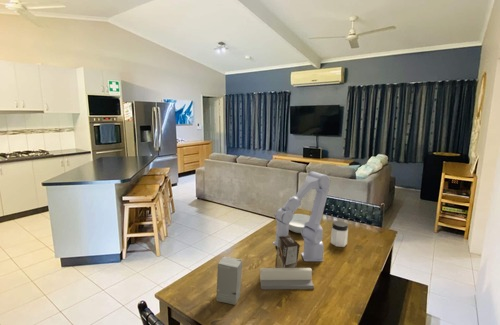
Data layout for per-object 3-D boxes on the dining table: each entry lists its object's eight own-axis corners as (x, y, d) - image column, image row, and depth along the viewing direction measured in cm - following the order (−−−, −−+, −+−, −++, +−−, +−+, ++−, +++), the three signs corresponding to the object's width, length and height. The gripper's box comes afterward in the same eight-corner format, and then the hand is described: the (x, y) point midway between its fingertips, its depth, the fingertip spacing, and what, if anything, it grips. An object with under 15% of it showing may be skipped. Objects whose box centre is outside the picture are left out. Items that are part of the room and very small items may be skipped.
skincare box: (216, 301, 104) (215, 264, 101) (222, 290, 111) (222, 254, 108) (236, 306, 102) (236, 267, 99) (242, 294, 109) (242, 258, 106)
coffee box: (295, 277, 120) (300, 245, 117) (283, 279, 118) (288, 247, 114) (285, 264, 129) (290, 234, 125) (273, 267, 126) (278, 236, 122)
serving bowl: (278, 231, 167) (278, 221, 166) (292, 221, 184) (293, 211, 183) (309, 240, 155) (310, 229, 154) (322, 228, 172) (323, 218, 171)
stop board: (310, 280, 118) (310, 267, 117) (313, 289, 112) (314, 276, 111) (260, 280, 118) (260, 268, 116) (261, 289, 112) (261, 276, 111)
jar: (327, 241, 155) (329, 221, 153) (338, 238, 158) (340, 219, 156) (338, 248, 147) (340, 227, 145) (350, 245, 150) (351, 225, 148)
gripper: (272, 227, 133) (270, 252, 135) (275, 241, 118) (273, 269, 121) (286, 227, 133) (284, 253, 135) (291, 241, 118) (289, 269, 121)
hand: (280, 260), depth 128 cm, fingers closed, pressing on coffee box
